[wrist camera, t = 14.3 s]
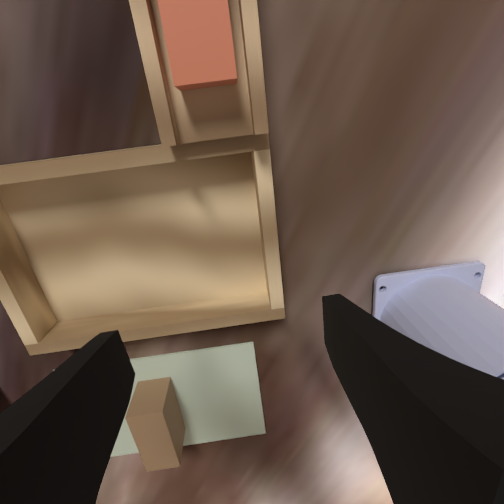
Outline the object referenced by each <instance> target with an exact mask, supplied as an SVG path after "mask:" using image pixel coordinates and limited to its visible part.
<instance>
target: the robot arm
mask: <svg viewBox="0 0 504 504" xmlns="http://www.w3.org/2000/svg"><path fill="white" fill-rule="evenodd" d="M484 270H485V265H484V264H483V263H481V262H480V261H473V262H466V263H459V264H452V265H445V266H438V267H431V268H424V269H417V270H410V271H403V272H396V273H389V274H382V275H379V276H377V277H376V278H375V280H374V293H373V313H372V315H370V314H369V313H367V312H366V311H364V310H363V309H361V308H360V307H358V306H357V305H355V304H354V303H353V302H351V301H350V300H348V299H347V298H345V297H344V296H342V295H340V294H335V295H329V296H323V297H322V302H323V321H324V339H325V345H326V348H327V351H328V354H329V357H330V360H331V362H332V365H333V368H334V370H335V372H336V374H337V376H338V378H339V380H340V382H341V384H342V386H343V388H344V390H345V392H346V394H347V396H348V398H349V401H350V403H351V405H352V407H353V409H354V411H355V413H356V415H357V417H358V419H359V421H360V423H361V425H362V427H363V429H364V431H365V433H366V435H367V437H368V439H369V442H370V444H371V446H372V449H373V451H374V454H375V456H376V459H377V461H378V464H379V467H380V469H381V472H382V474H383V477H384V479H385V482H386V485H387V487H388V490H389V493H390V495H391V498H392V501H393V503H394V504H504V309H503V308H501V307H500V306H498V305H497V304H495V303H494V302H492V301H491V300H489V299H488V298H486V297H485V296H483V295H482V294H480V289H481V284H482V280H483V275H484ZM475 274H476V275H475ZM381 286H384V287H383V288H382V289H380V287H381ZM379 289H380V290H379ZM134 379H135V372H134V369H133V367H132V364H131V362H130V359H129V356H128V354H127V351H126V349H125V346H124V344H123V341H122V339H121V336H120V334H119V331H118V330H114V331H107V332H101V333H99V334H98V335H97V336H95V337H94V338H93V339H91V340H90V341H89V342H87V343H86V344H85V345H84V346H83V347H81V348H80V349H79V350H78V351H77V352H75V353H74V354H73V355H72V356H71V357H69V358H68V359H67V360H66V361H65V362H64V363H62V364H61V365H60V366H59V367H58V368H56V369H55V370H54V371H53V372H52V373H50V374H49V375H48V376H47V377H46V378H44V379H43V380H42V381H41V382H39V383H38V384H37V385H36V386H34V387H33V388H32V389H30V390H29V391H28V392H27V393H25V394H24V395H23V396H22V397H20V398H19V399H18V400H17V401H15V402H14V403H13V404H12V405H10V406H9V407H8V408H6V409H5V410H4V411H2V412H1V413H0V504H95V503H96V499H97V495H98V492H99V488H100V485H101V482H102V479H103V476H104V473H105V470H106V467H107V465H108V462H109V459H110V456H111V453H112V451H113V448H114V445H115V442H116V439H117V437H118V434H119V431H120V428H121V426H122V423H123V420H124V417H125V414H126V411H127V408H128V405H129V402H130V398H131V393H132V389H133V384H134Z"/></svg>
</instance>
